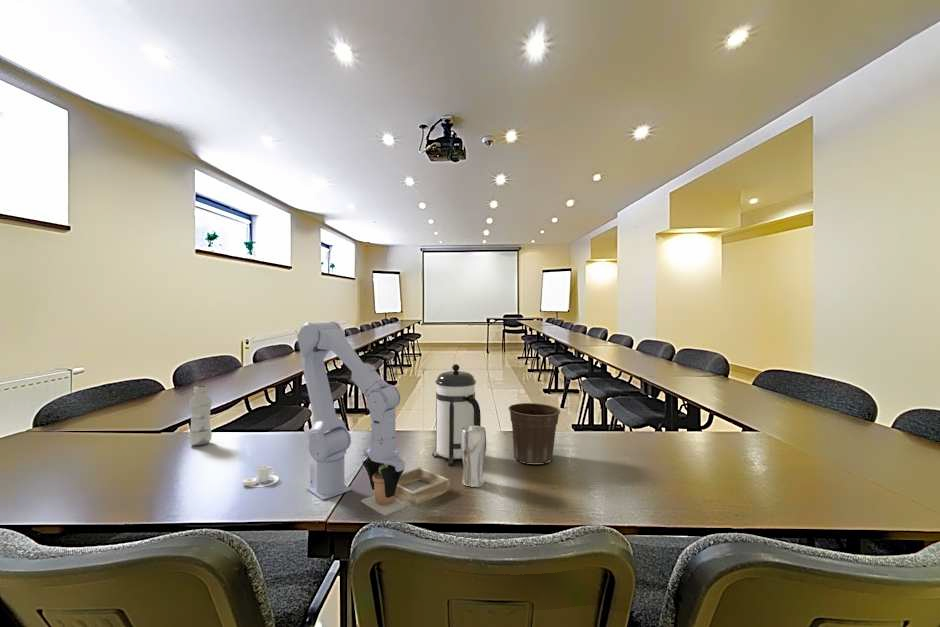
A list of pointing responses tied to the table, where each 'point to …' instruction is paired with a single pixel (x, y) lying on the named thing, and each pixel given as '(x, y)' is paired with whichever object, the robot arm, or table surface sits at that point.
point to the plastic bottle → (200, 417)
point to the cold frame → (422, 495)
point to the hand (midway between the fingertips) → (383, 492)
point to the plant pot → (533, 431)
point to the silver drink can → (473, 454)
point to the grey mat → (383, 506)
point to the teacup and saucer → (261, 477)
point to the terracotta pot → (381, 487)
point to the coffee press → (454, 411)
